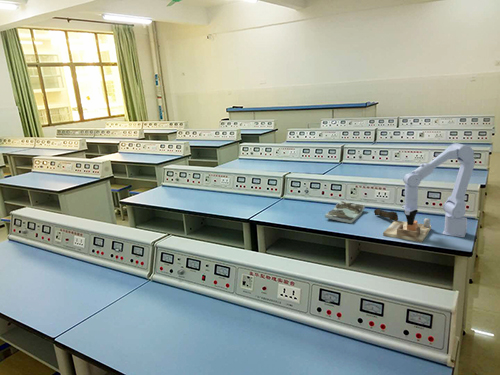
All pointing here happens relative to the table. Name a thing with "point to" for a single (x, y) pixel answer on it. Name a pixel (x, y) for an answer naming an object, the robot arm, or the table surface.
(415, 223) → the terracotta block
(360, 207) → the topographical model
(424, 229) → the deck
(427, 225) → the grey peg
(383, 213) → the hand tool
